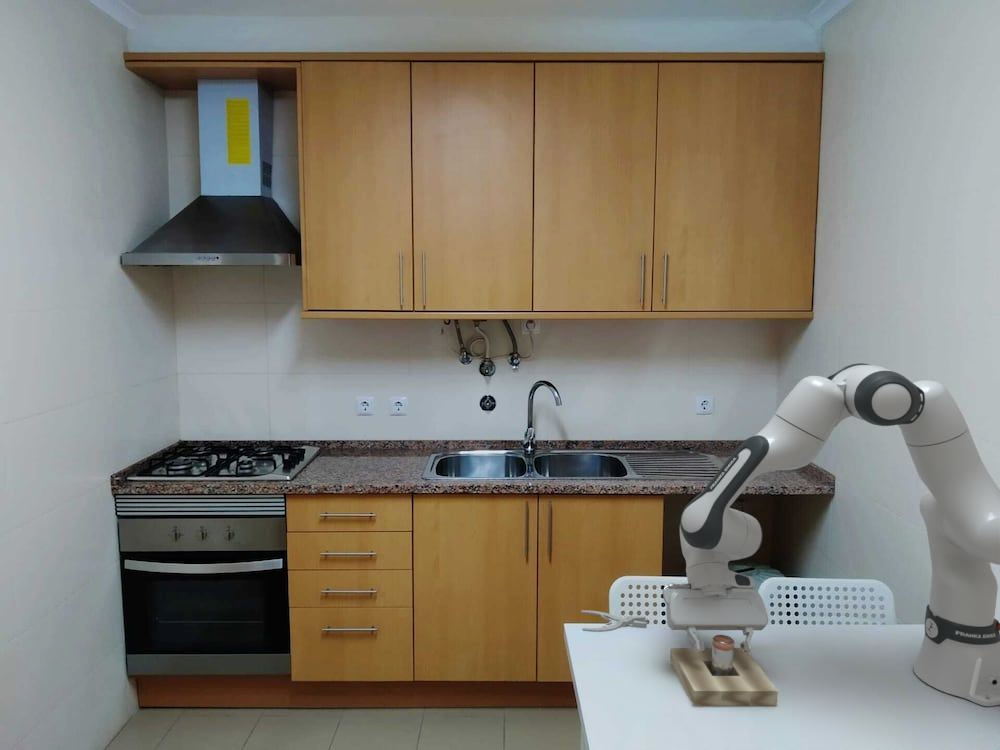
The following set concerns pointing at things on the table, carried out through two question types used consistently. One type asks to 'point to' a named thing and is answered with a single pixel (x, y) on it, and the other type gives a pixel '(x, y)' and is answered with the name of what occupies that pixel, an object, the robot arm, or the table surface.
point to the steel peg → (722, 655)
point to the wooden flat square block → (722, 680)
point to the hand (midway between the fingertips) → (723, 651)
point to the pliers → (627, 621)
